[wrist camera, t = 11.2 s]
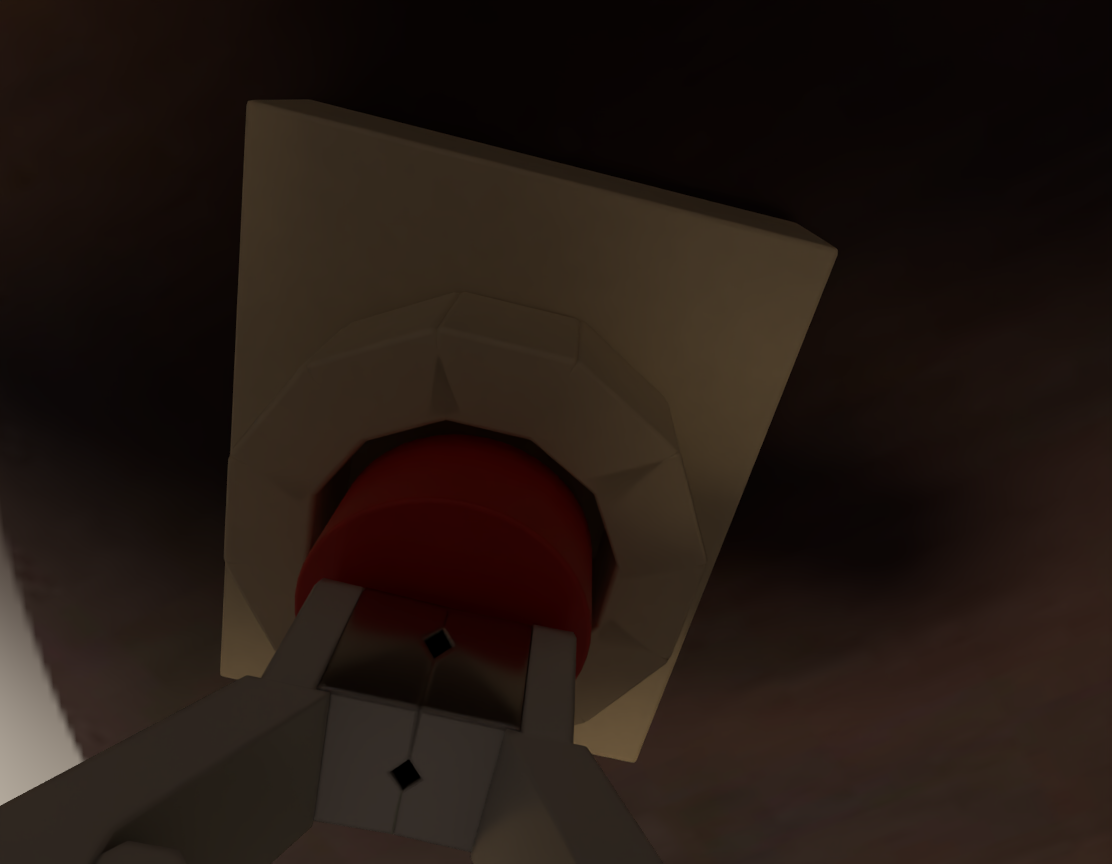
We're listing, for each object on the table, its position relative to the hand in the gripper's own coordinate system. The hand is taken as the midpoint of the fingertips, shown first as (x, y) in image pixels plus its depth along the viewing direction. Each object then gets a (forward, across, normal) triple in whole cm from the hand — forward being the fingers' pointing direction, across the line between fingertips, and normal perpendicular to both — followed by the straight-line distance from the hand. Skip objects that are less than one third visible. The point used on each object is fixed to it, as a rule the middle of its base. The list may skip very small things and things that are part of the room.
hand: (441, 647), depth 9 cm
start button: (+2, 0, 0) cm, 2 cm away
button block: (+6, 0, 0) cm, 6 cm away
